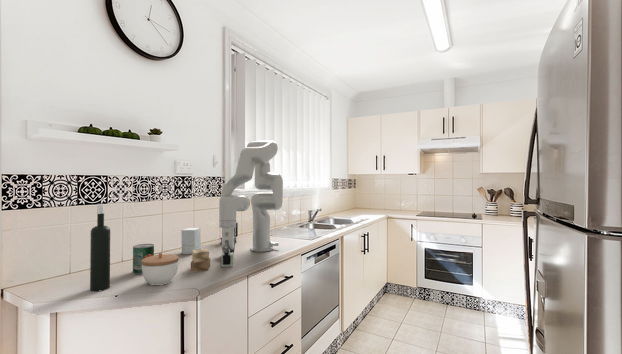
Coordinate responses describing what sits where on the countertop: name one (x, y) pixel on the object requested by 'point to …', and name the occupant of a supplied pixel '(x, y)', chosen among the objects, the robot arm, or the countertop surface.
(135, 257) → the canned tomato
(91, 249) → the wine bottle
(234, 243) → the coffee cup
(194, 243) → the supplement box
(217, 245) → the countertop surface
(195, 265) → the walnut block
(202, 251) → the oak block
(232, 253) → the sage cube
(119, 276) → the countertop surface
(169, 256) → the lidded bowl
